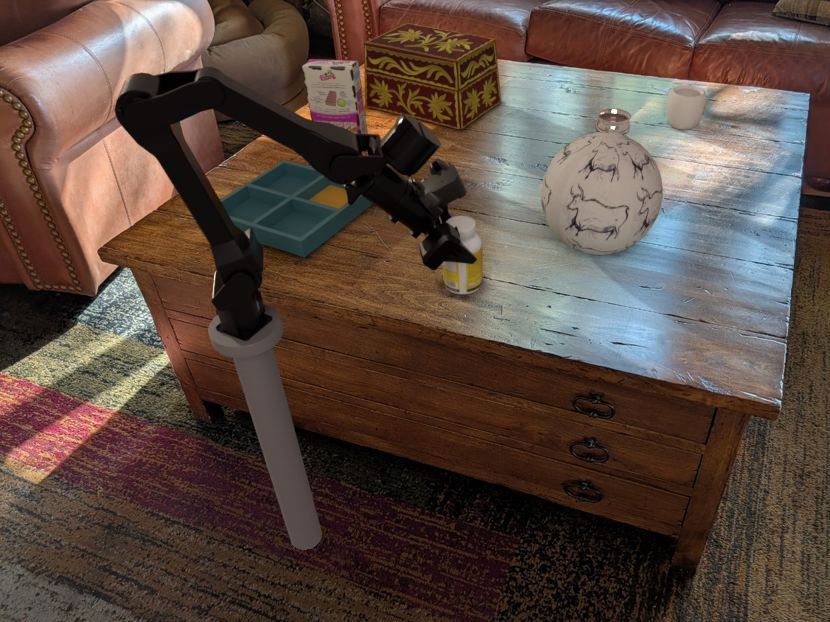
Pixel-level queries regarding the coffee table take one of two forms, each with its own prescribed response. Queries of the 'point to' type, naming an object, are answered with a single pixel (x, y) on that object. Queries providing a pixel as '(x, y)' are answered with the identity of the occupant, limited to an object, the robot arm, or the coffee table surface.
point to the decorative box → (432, 75)
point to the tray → (292, 207)
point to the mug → (685, 106)
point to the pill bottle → (462, 274)
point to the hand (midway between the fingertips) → (470, 249)
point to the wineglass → (613, 121)
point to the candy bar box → (335, 93)
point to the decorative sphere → (602, 193)
